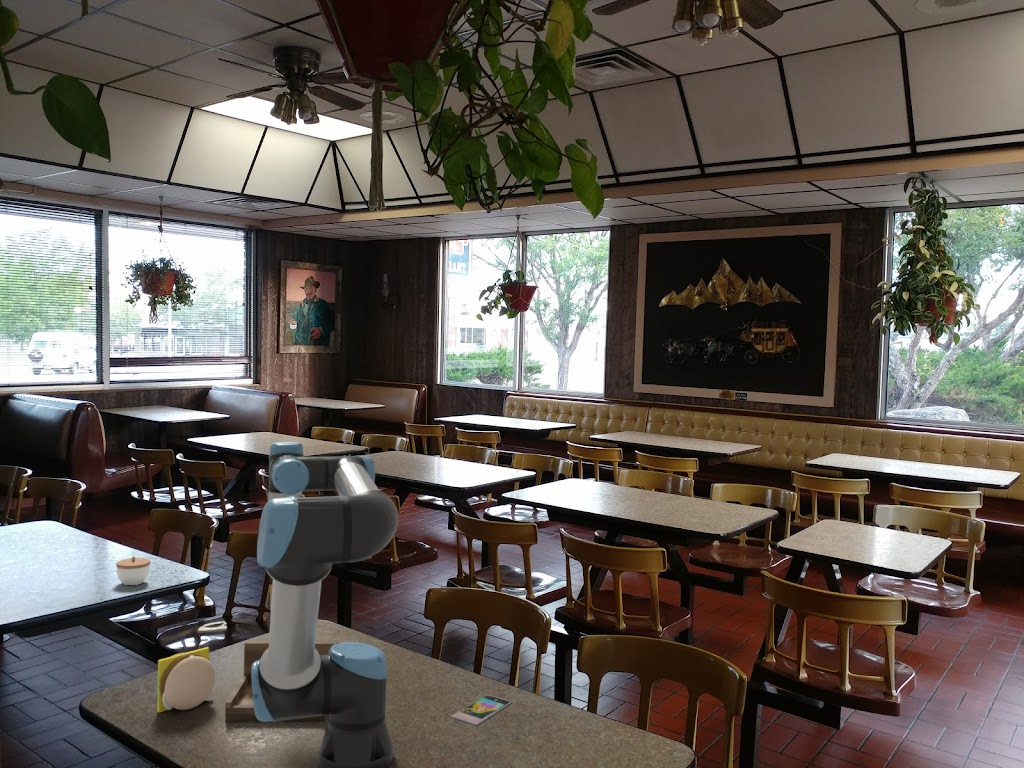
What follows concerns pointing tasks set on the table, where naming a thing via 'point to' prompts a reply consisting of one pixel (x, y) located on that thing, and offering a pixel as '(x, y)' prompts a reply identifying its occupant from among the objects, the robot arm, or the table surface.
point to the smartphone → (481, 710)
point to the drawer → (242, 695)
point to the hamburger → (184, 680)
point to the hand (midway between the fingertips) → (283, 604)
